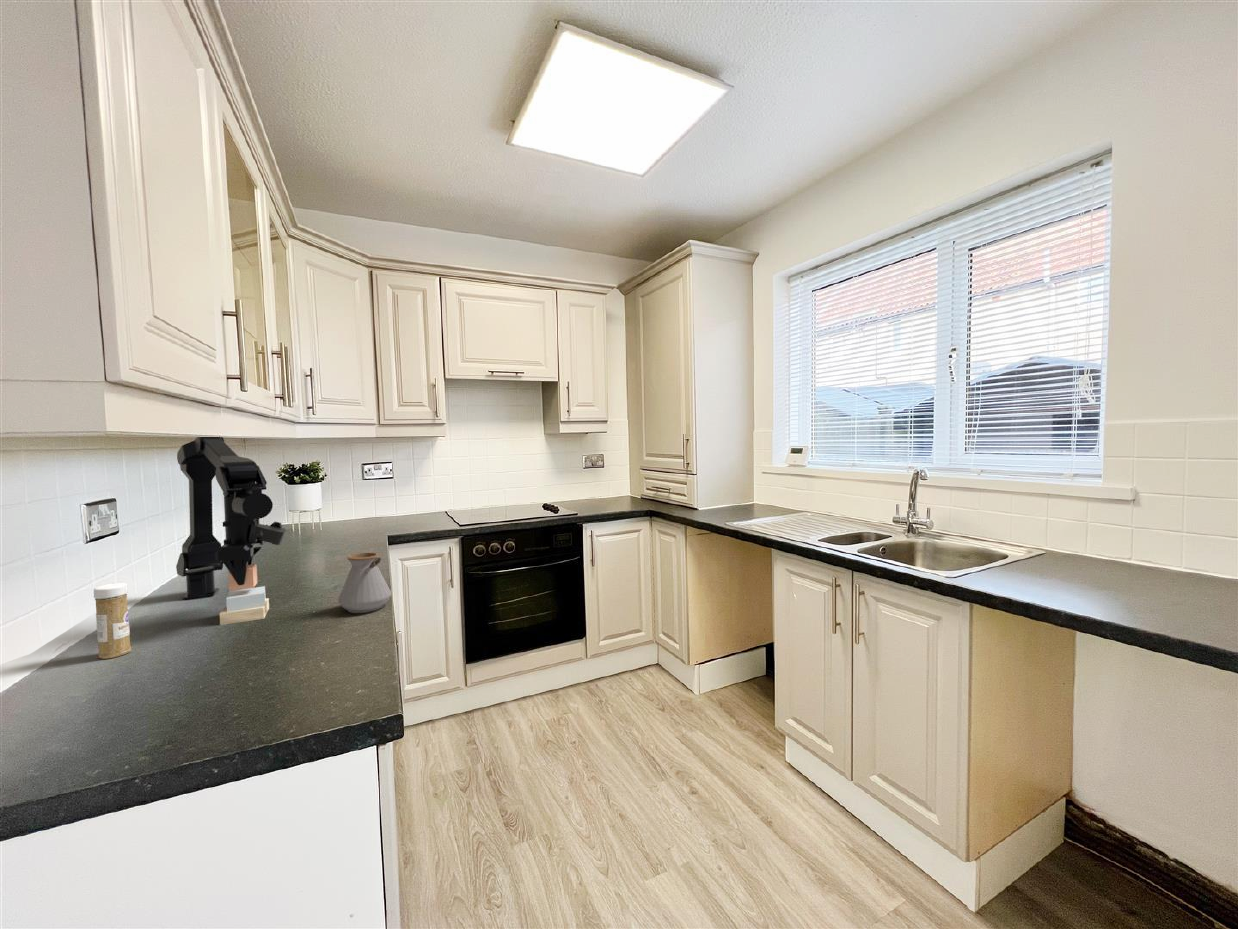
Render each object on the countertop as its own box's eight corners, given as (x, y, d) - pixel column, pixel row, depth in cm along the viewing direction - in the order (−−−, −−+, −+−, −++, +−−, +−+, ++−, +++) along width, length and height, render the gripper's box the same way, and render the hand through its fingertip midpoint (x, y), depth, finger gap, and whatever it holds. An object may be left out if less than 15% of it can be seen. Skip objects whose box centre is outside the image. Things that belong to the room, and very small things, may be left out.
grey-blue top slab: (229, 604, 118) (228, 591, 118) (265, 598, 122) (264, 586, 122) (227, 612, 112) (226, 599, 112) (265, 605, 116) (264, 593, 116)
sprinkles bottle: (131, 654, 96) (127, 585, 96) (97, 662, 93) (92, 590, 92) (131, 647, 100) (127, 580, 99) (98, 654, 96) (94, 585, 96)
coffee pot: (334, 607, 123) (332, 546, 122) (384, 597, 130) (383, 540, 129) (352, 632, 106) (350, 562, 105) (409, 620, 113) (407, 554, 112)
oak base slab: (228, 616, 119) (227, 603, 118) (269, 610, 122) (268, 598, 122) (220, 627, 112) (219, 613, 111) (263, 620, 115) (263, 607, 115)
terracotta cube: (233, 585, 118) (233, 566, 117) (257, 582, 120) (256, 564, 119) (229, 590, 114) (228, 571, 113) (253, 587, 116) (252, 568, 115)
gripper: (276, 518, 111) (279, 587, 112) (287, 508, 128) (290, 568, 129) (212, 522, 106) (216, 595, 107) (233, 511, 123) (236, 574, 123)
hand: (243, 582), depth 117 cm, fingers closed on terracotta cube, 4 cm apart
